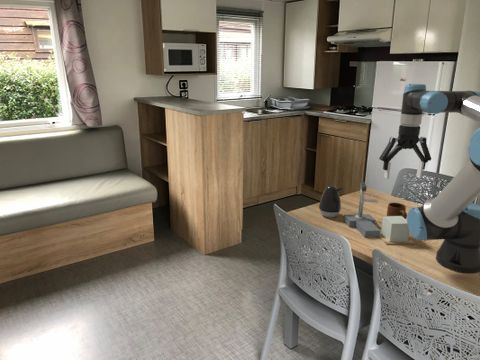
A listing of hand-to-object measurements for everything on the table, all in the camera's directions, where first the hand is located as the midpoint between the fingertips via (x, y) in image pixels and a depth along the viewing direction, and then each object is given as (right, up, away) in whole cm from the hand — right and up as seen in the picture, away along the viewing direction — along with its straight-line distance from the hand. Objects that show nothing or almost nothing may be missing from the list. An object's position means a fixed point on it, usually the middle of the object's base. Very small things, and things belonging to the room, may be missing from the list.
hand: (402, 177), depth 153 cm
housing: (-10, -22, +17) cm, 30 cm away
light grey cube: (0, -25, +8) cm, 26 cm away
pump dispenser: (-22, -18, +32) cm, 43 cm away
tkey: (-8, -18, +21) cm, 28 cm away
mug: (+6, -22, +20) cm, 30 cm away
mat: (0, -26, +8) cm, 27 cm away
